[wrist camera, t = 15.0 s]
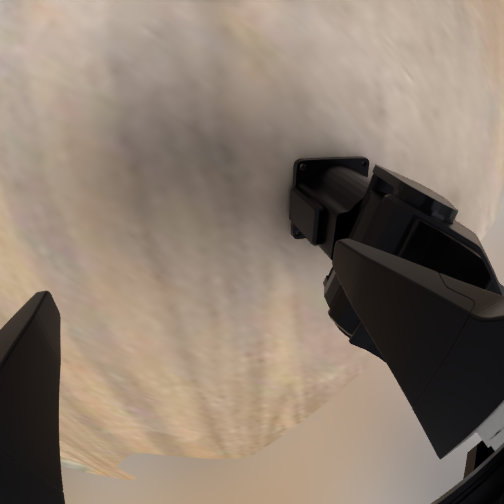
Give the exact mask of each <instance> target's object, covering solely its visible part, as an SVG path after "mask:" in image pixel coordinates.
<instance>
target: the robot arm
mask: <svg viewBox="0 0 504 504" xmlns="http://www.w3.org/2000/svg"><path fill="white" fill-rule="evenodd" d="M363 161H364V164H363V165H362V162H363ZM301 164H304V166H303V168H301V169H300V165H301ZM368 169H369V160H368V159H367V158H365V157H330V158H309V159H299V160H297V161H296V162H295V165H294V183H293V187H292V189H291V195H290V215H289V219H290V220H291V235H292V236H293V237H294V238H295V239H302V238H307V239H308V240H309V241H310V243H311V244H313V245H314V246H317V245H318V246H319V247H320V248H321V249H322V250H323V251H324V252H325V253H326V254H327V256H328V257H329V258H330V259H331V260H332V265H333V267H332V269H331V271H330V273H329V275H328V276H326V278H325V280H324V282H323V284H324V287H325V288H324V297H325V299H326V301H327V304H328V306H329V308H330V309H329V311H328V314H329V316H330V318H331V319H332V320H333V321H334V323H335V324H336V325H337V327H338V328H339V330H341V331H342V332H343V333H344V334H345V335H346V336H347V337H349V338H350V339H349V342H350V343H351V344H353V345H355V346H358V347H360V348H363V349H365V350H367V351H369V352H371V353H372V354H374V355H376V356H377V357H379V358H380V359H382V360H383V361H384V362H386V363H387V365H388V366H389V368H390V370H391V371H392V373H393V375H394V377H395V378H396V380H397V382H398V384H399V385H400V387H401V389H402V391H403V392H404V394H405V396H406V398H407V400H408V401H409V403H410V405H411V407H412V409H413V411H414V413H415V414H416V416H417V418H418V420H419V422H420V423H421V425H422V427H423V429H424V431H425V433H426V435H427V437H428V439H429V440H430V442H431V444H432V446H433V448H434V450H435V452H436V454H437V456H438V457H439V459H442V458H443V457H445V456H446V455H447V454H449V453H450V452H452V451H453V450H454V449H455V448H457V447H458V446H459V445H461V444H462V443H463V442H465V441H466V440H467V439H468V438H469V437H471V436H472V435H473V434H474V433H476V432H477V433H478V435H479V436H480V438H481V439H482V441H481V442H480V443H478V444H477V445H476V446H475V447H474V448H473V449H471V450H470V451H469V452H468V454H467V460H466V467H465V473H464V478H463V480H462V481H461V482H459V483H458V484H457V485H455V486H454V487H453V488H452V489H450V490H449V491H448V492H446V493H445V494H444V495H442V496H441V497H440V498H438V499H437V500H435V501H434V502H433V503H431V504H504V286H503V285H501V284H500V283H499V281H498V279H497V277H496V274H495V272H494V270H493V268H492V266H491V263H490V261H489V259H488V257H487V255H486V253H485V251H484V249H483V247H482V245H481V243H480V241H479V239H478V237H477V236H476V234H475V233H474V232H472V231H471V230H469V229H468V228H466V227H465V226H463V225H462V224H460V223H458V222H457V221H455V220H454V219H455V217H456V215H457V213H458V210H457V209H456V208H455V207H454V206H453V205H452V204H451V203H450V202H449V201H447V200H446V199H445V198H444V197H442V196H441V195H439V194H437V193H435V192H434V191H432V190H430V189H428V188H426V187H425V186H423V185H421V184H419V183H417V182H415V181H413V180H410V179H408V178H406V177H404V176H402V175H399V174H397V173H395V172H392V171H390V170H388V169H385V168H383V167H381V166H378V165H376V164H375V167H374V169H373V173H374V174H373V176H372V179H369V178H367V177H368ZM297 231H299V233H298V234H296V232H297ZM60 365H61V349H60V313H59V310H58V308H57V306H56V304H55V302H54V300H53V297H52V295H51V293H50V292H49V291H42V292H37V293H36V294H35V295H34V296H33V297H32V298H31V299H30V300H29V301H28V302H27V303H26V304H25V305H24V306H23V307H22V308H21V309H20V310H19V311H18V312H17V313H16V314H15V315H14V316H13V317H12V318H11V319H10V320H9V321H8V322H7V323H6V324H5V325H4V326H3V328H2V329H1V330H0V504H65V500H64V493H63V492H62V491H63V485H62V476H61V463H60V446H59V384H60Z"/></svg>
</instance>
